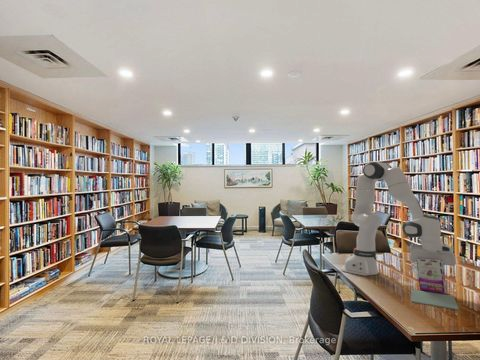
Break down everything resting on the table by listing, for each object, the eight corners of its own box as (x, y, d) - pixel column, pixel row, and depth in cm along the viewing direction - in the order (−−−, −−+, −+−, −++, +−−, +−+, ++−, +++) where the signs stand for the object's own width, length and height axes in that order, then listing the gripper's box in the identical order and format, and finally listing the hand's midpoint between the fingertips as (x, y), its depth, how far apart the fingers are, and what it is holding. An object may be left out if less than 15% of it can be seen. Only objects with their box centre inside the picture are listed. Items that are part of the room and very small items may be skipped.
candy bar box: (447, 291, 142) (443, 259, 143) (444, 294, 139) (441, 261, 139) (422, 287, 150) (418, 256, 151) (419, 289, 147) (415, 258, 148)
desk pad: (411, 301, 132) (411, 300, 132) (410, 290, 147) (410, 289, 147) (459, 310, 123) (459, 308, 123) (453, 296, 137) (453, 295, 137)
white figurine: (410, 278, 164) (410, 258, 165) (411, 277, 168) (410, 257, 168) (429, 281, 159) (428, 260, 160) (429, 279, 163) (428, 259, 163)
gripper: (408, 245, 151) (409, 270, 150) (455, 248, 140) (456, 276, 140) (408, 243, 156) (409, 267, 156) (453, 246, 146) (454, 272, 146)
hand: (432, 271), depth 148 cm, fingers closed
